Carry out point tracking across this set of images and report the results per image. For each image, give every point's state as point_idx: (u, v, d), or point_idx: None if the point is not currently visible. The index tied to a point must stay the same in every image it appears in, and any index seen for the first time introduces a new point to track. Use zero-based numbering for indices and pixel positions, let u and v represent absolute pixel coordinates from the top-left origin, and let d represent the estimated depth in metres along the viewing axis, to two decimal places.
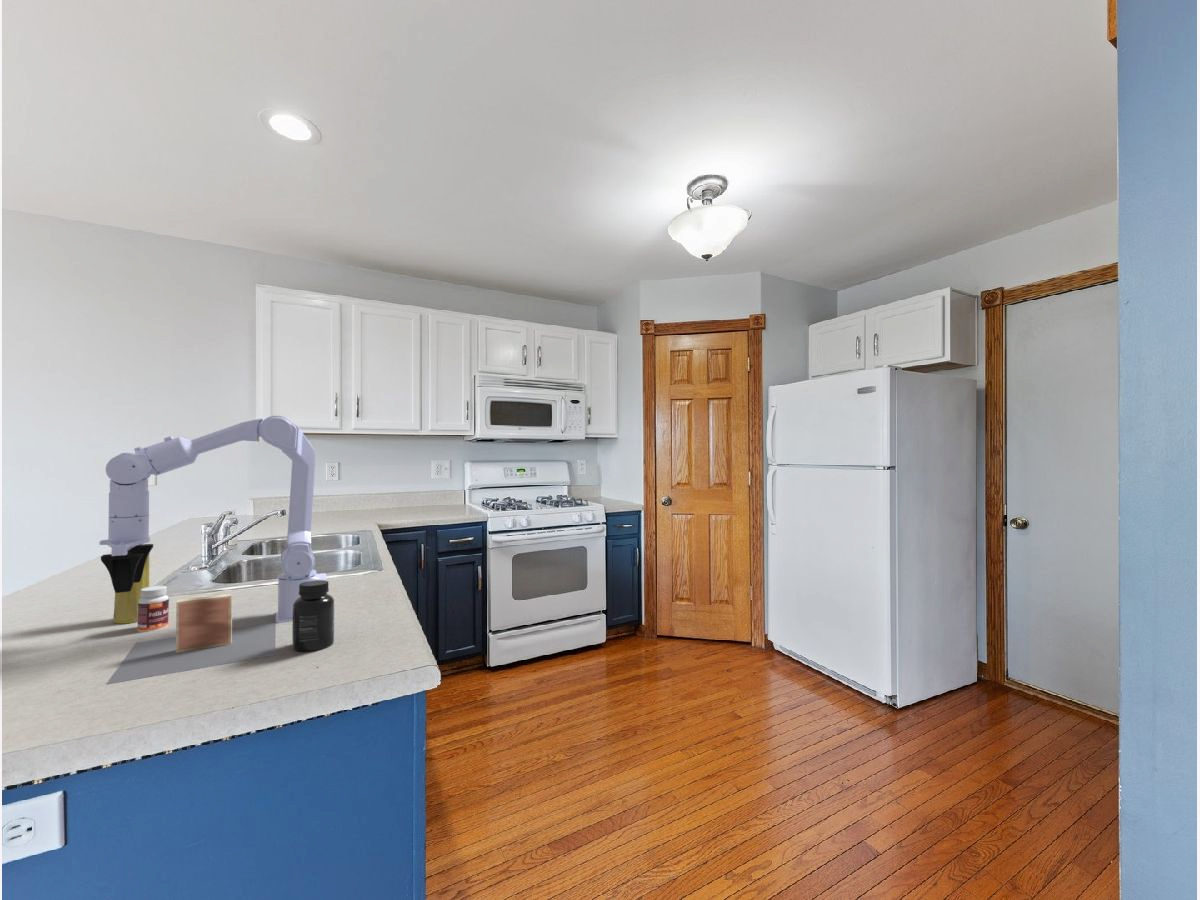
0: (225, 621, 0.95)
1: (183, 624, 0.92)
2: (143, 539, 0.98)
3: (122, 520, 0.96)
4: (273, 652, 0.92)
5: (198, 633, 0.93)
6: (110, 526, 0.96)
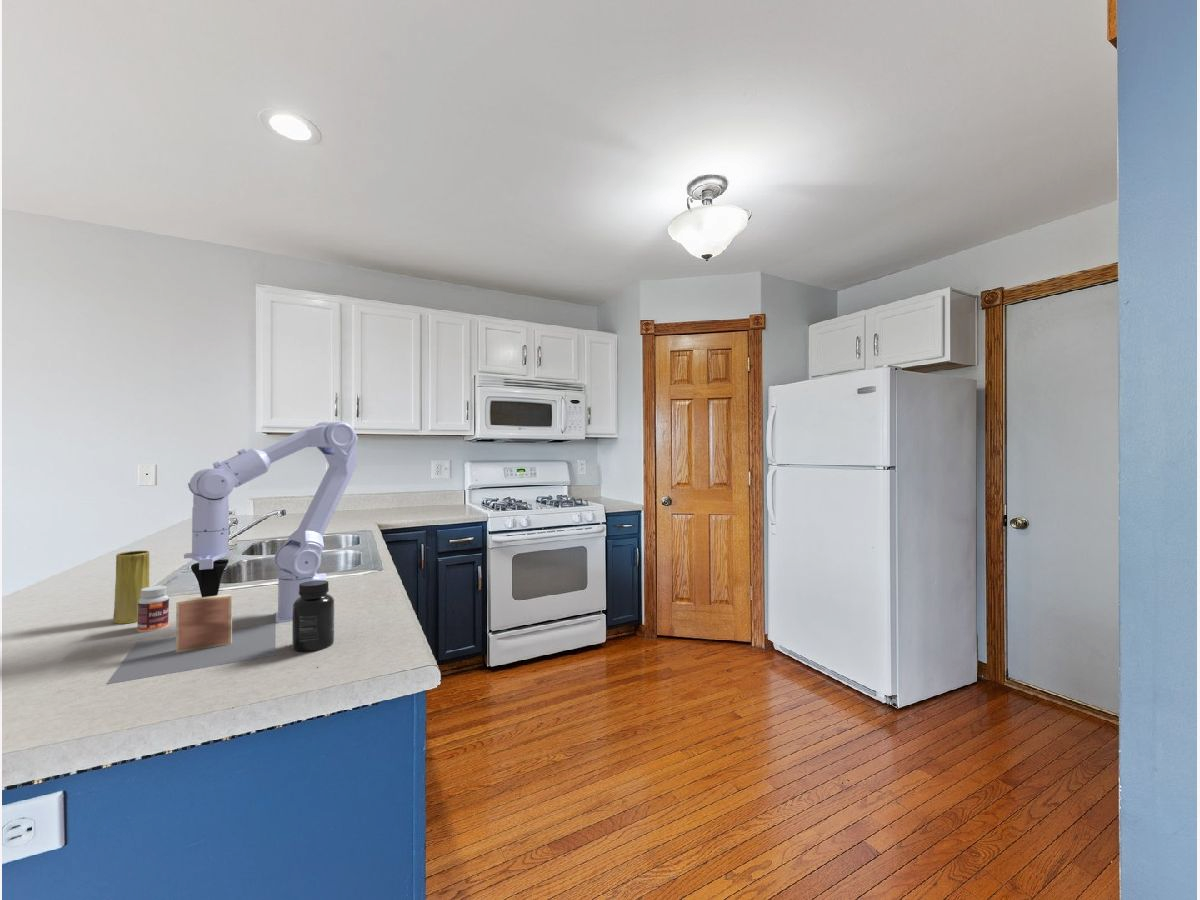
0: (225, 621, 0.95)
1: (183, 624, 0.92)
2: (224, 552, 1.01)
3: (206, 534, 0.98)
4: (273, 652, 0.92)
5: (198, 633, 0.93)
6: (194, 540, 0.98)
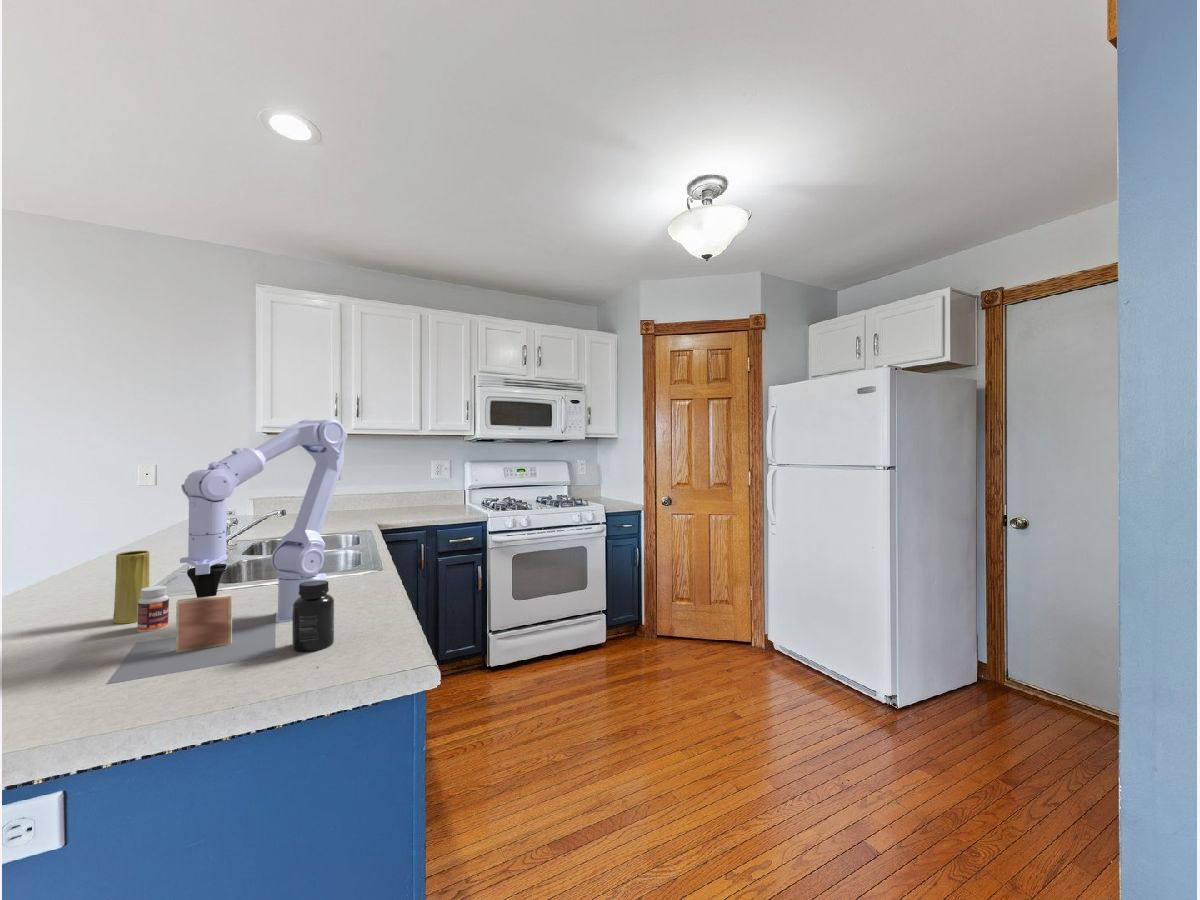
0: (225, 621, 0.95)
1: (183, 624, 0.92)
2: (222, 556, 0.97)
3: (203, 538, 0.94)
4: (273, 652, 0.92)
5: (198, 633, 0.93)
6: (190, 544, 0.94)
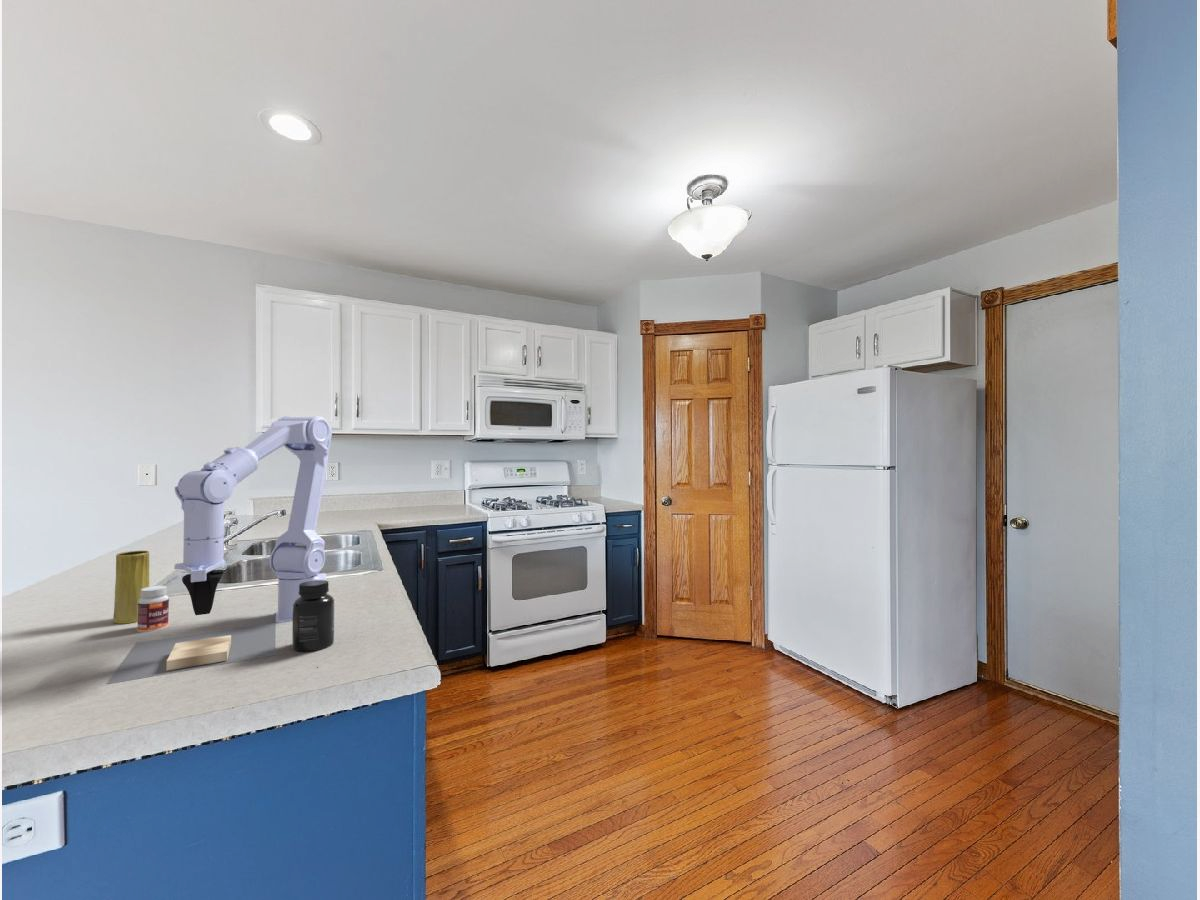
0: None
1: None
2: (219, 562, 0.92)
3: (199, 543, 0.89)
4: (273, 652, 0.92)
5: None
6: (186, 549, 0.89)
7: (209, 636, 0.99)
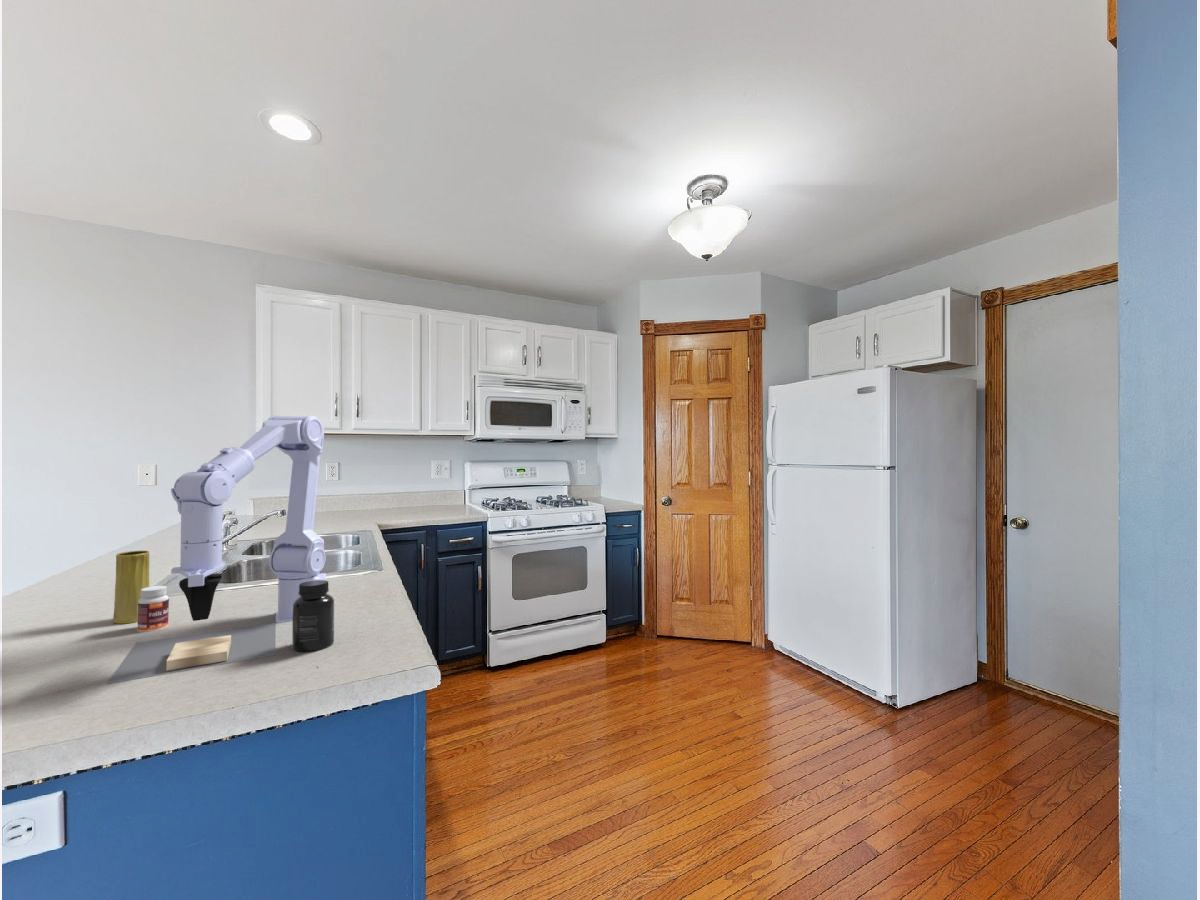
0: None
1: None
2: (217, 566, 0.89)
3: (196, 546, 0.87)
4: (273, 652, 0.92)
5: None
6: (183, 553, 0.87)
7: (209, 636, 0.99)
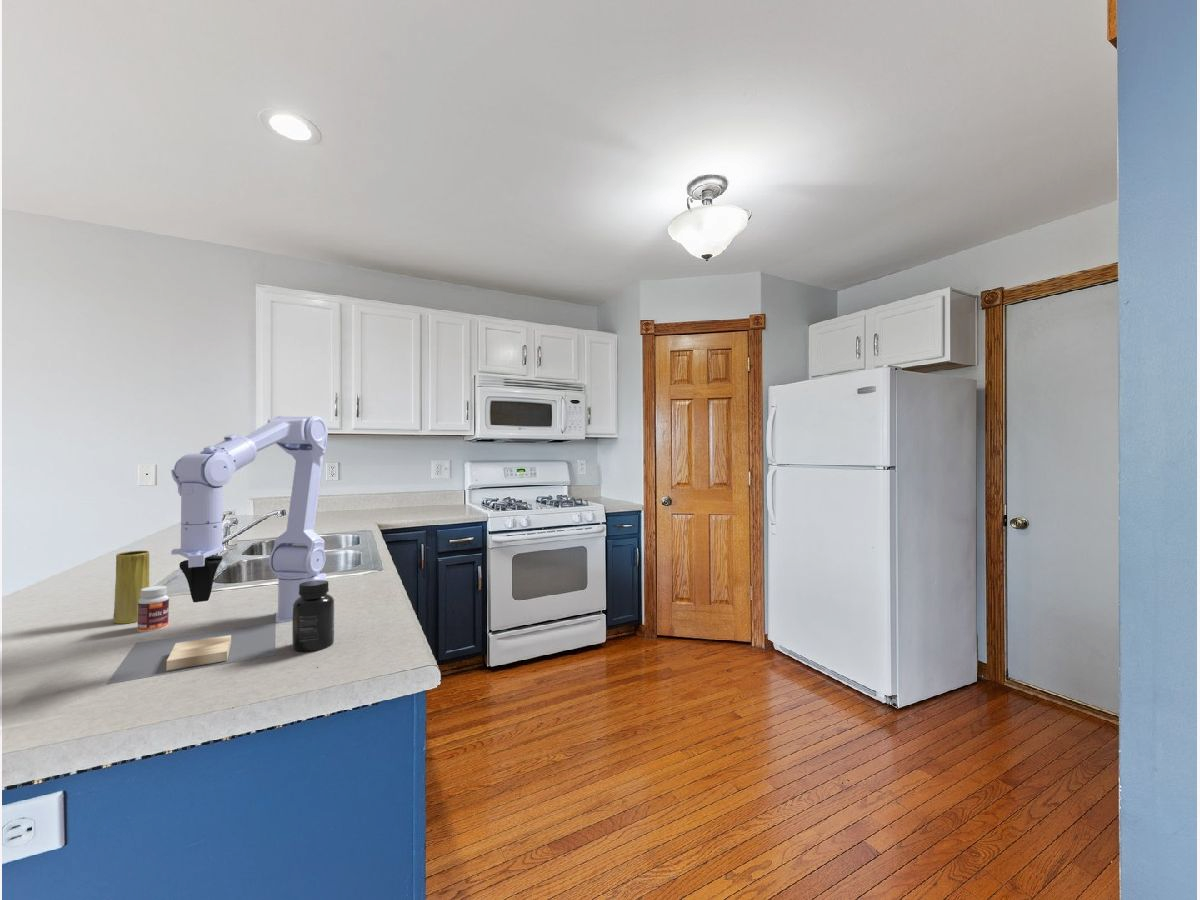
0: None
1: None
2: (218, 548, 0.89)
3: (196, 527, 0.87)
4: (273, 652, 0.92)
5: None
6: (183, 534, 0.87)
7: (209, 636, 0.99)
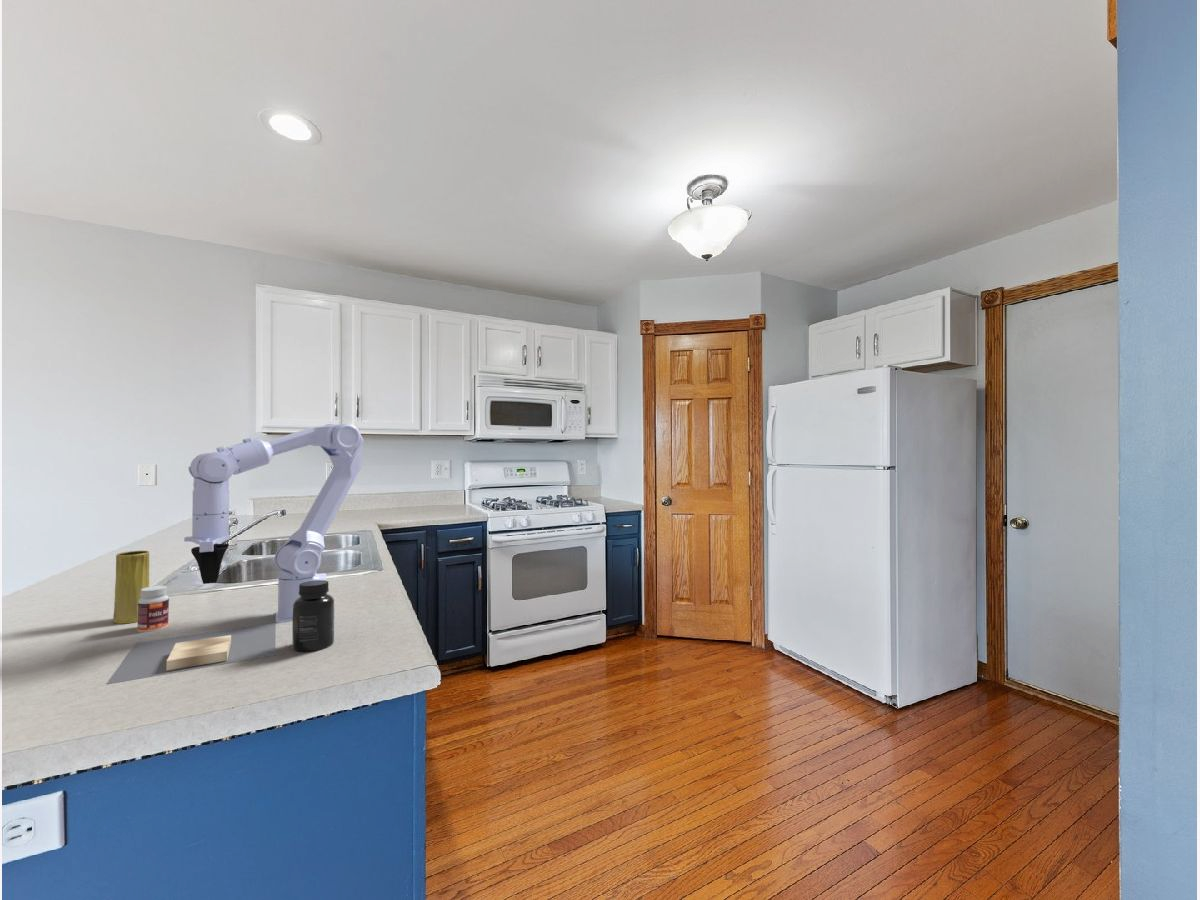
0: None
1: None
2: (225, 536, 1.01)
3: (206, 517, 0.98)
4: (273, 652, 0.92)
5: None
6: (194, 524, 0.98)
7: (209, 636, 0.99)
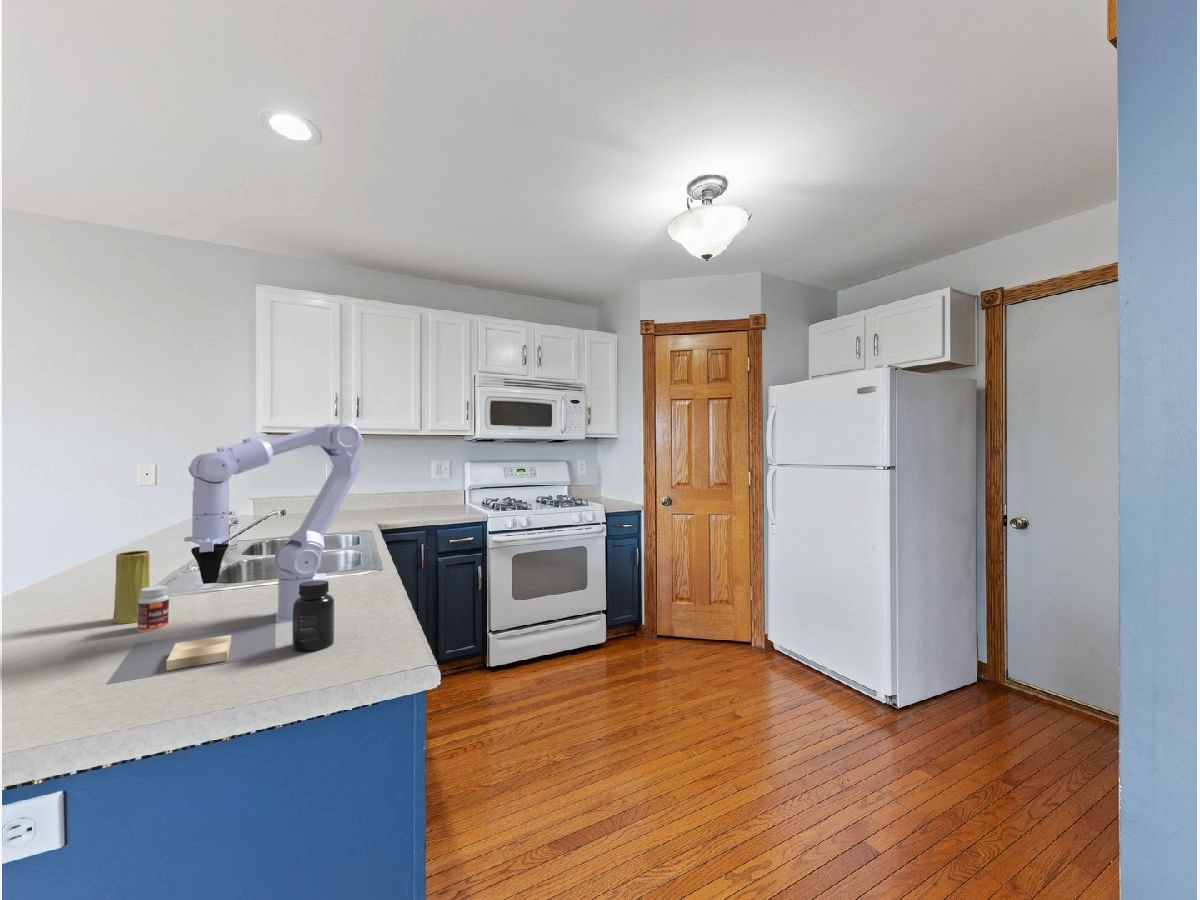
0: None
1: None
2: (225, 536, 1.01)
3: (206, 517, 0.98)
4: (273, 652, 0.92)
5: None
6: (194, 524, 0.98)
7: (209, 636, 0.99)
